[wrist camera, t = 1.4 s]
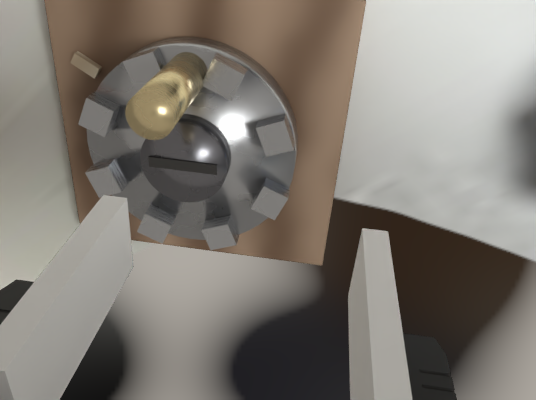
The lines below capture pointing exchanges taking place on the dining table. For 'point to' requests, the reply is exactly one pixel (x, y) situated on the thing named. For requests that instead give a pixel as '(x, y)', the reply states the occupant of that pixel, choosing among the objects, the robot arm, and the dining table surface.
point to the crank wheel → (192, 140)
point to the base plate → (254, 45)
